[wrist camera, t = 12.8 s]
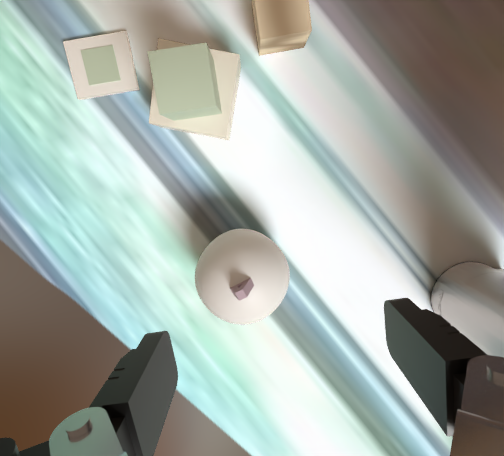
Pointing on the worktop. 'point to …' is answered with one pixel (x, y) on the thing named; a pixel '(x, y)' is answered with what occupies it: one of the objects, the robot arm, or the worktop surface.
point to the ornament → (242, 276)
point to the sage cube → (185, 82)
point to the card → (101, 65)
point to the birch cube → (281, 24)
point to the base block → (227, 87)
